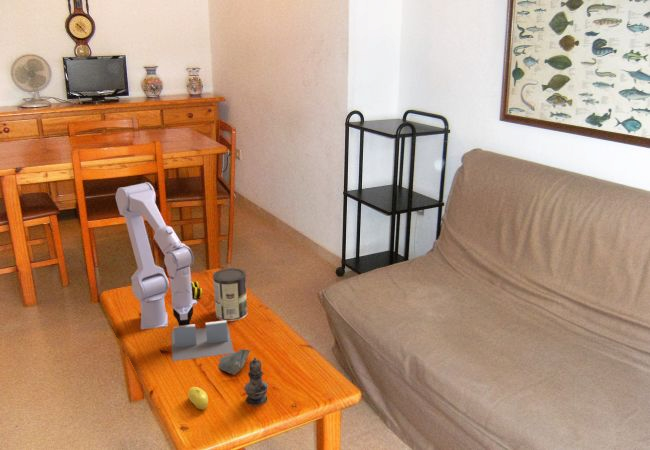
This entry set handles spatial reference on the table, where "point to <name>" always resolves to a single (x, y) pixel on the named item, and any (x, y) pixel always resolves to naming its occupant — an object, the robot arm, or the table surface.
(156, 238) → the robot arm
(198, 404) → the lemon
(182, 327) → the tile
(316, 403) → the table surface
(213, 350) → the mat
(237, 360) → the stone
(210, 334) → the tile
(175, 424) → the table surface
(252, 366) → the dark chess piece
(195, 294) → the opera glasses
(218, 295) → the coffee can
